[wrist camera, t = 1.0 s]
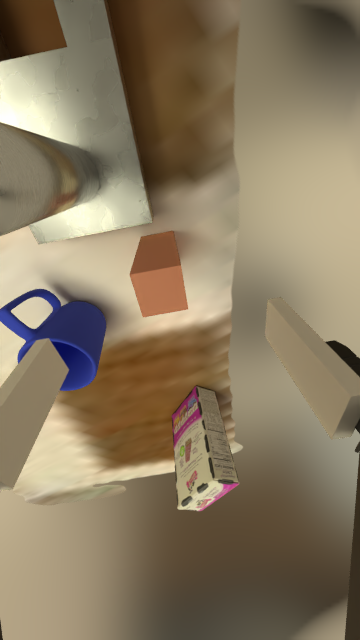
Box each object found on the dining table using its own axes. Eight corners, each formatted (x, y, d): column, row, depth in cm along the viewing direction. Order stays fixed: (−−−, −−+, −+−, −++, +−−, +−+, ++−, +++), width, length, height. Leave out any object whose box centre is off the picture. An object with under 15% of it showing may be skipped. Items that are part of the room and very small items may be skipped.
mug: (63, 259, 27) (21, 296, 19) (123, 324, 34) (111, 374, 25) (18, 290, 29) (-38, 336, 21) (82, 347, 35) (59, 399, 27)
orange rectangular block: (141, 236, 27) (129, 274, 17) (173, 230, 26) (180, 265, 17) (148, 267, 29) (143, 317, 19) (178, 262, 29) (188, 309, 19)
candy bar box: (190, 419, 50) (202, 512, 36) (171, 415, 48) (175, 510, 35) (216, 390, 44) (241, 485, 31) (195, 384, 43) (212, 482, 29)
